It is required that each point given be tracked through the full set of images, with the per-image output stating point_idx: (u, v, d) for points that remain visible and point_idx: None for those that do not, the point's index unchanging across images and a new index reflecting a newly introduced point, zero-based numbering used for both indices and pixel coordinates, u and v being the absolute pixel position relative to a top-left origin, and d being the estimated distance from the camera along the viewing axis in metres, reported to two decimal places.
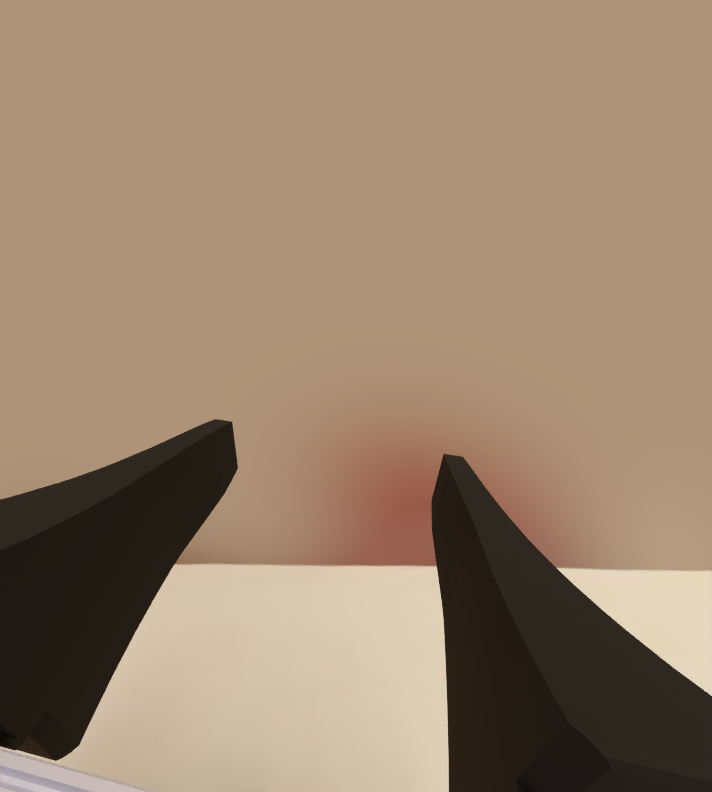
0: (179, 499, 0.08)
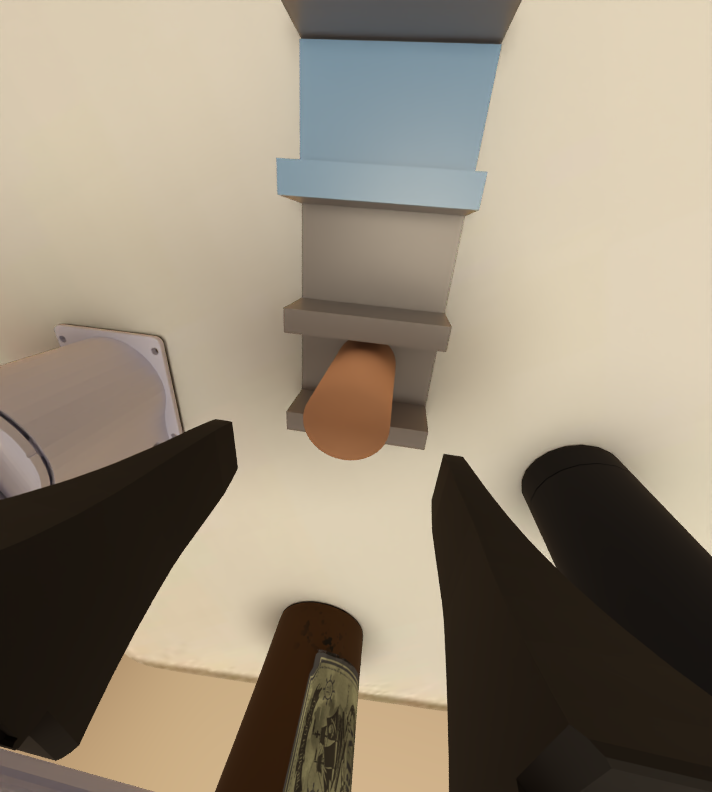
0: (179, 499, 0.08)
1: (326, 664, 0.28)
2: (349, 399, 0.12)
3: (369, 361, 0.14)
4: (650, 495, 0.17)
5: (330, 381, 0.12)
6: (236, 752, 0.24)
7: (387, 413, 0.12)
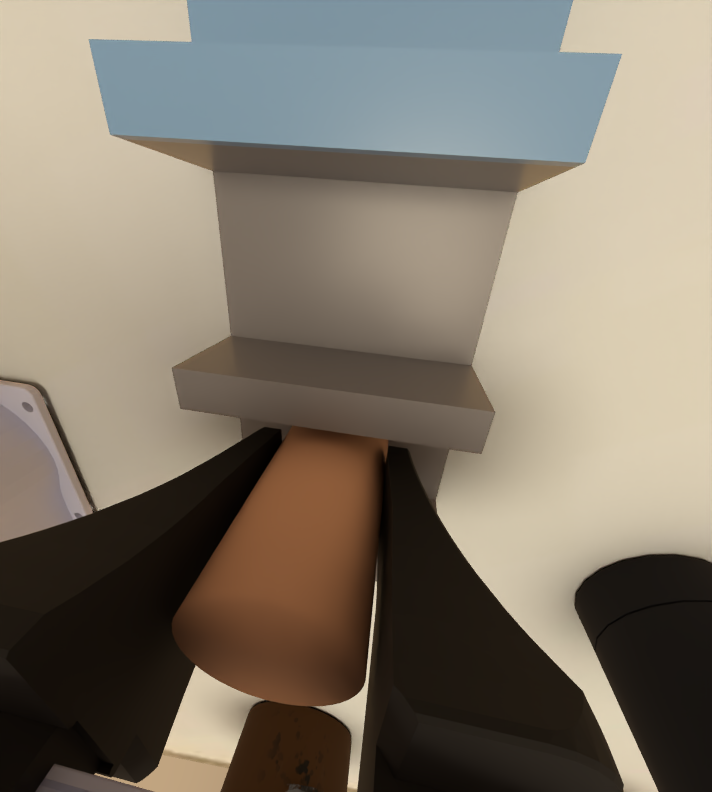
0: (239, 510, 0.08)
1: None
2: (267, 622, 0.05)
3: (331, 478, 0.07)
4: None
5: (228, 569, 0.05)
6: None
7: (359, 651, 0.05)
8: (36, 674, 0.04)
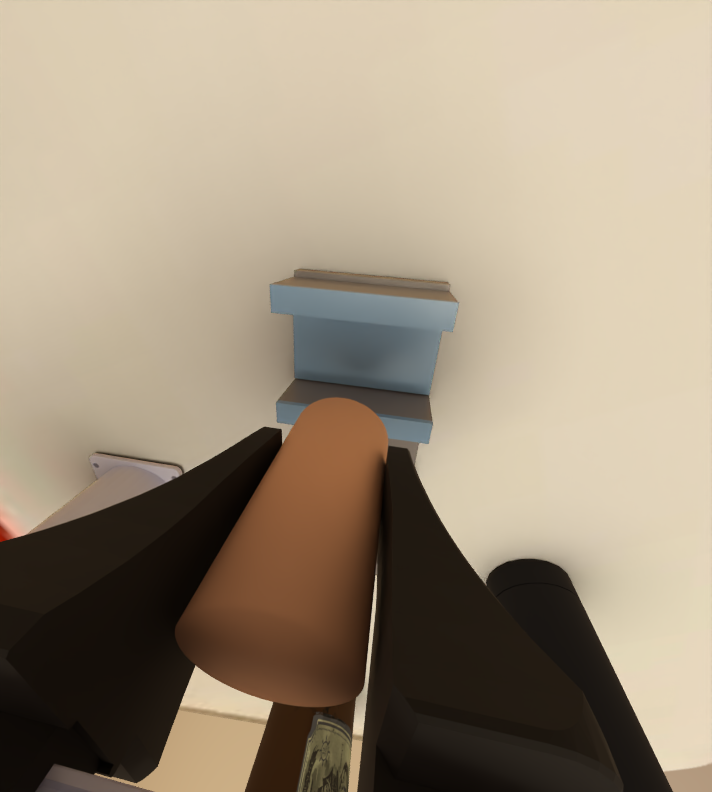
0: (240, 510, 0.08)
1: (322, 726, 0.32)
2: (267, 629, 0.05)
3: (330, 483, 0.07)
4: (581, 619, 0.21)
5: (228, 577, 0.05)
6: None
7: (357, 657, 0.05)
8: (37, 673, 0.04)
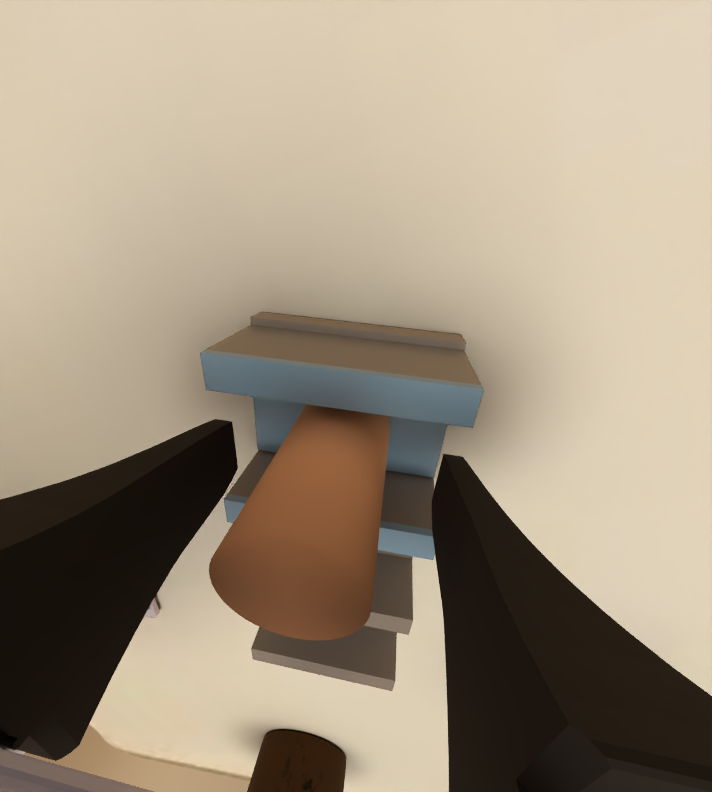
0: (179, 499, 0.08)
1: None
2: (291, 558, 0.06)
3: (340, 450, 0.08)
4: None
5: (257, 517, 0.06)
6: None
7: (366, 583, 0.06)
8: None
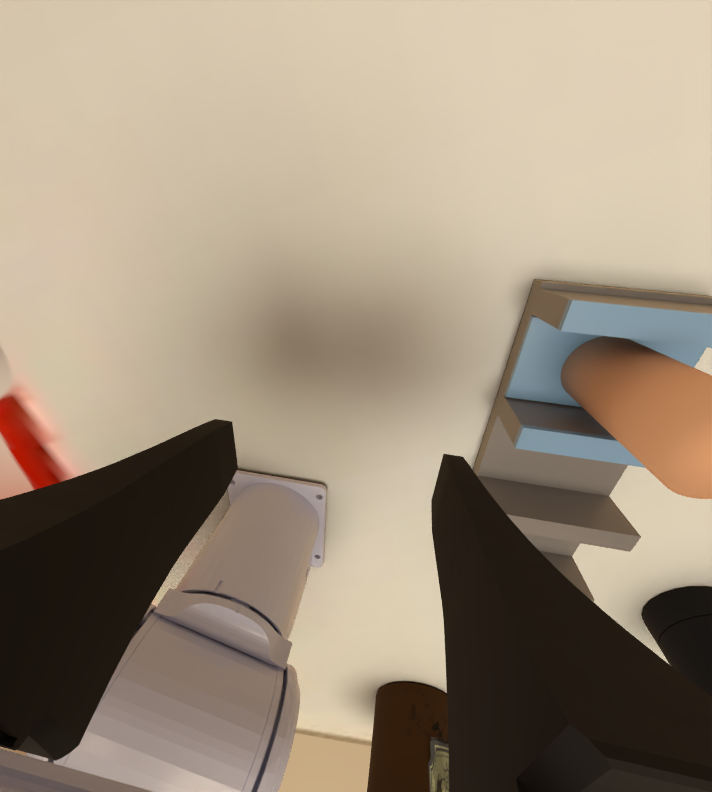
0: (179, 499, 0.08)
1: (440, 752, 0.30)
2: None
3: (696, 369, 0.11)
4: None
5: None
6: None
7: None
8: None
